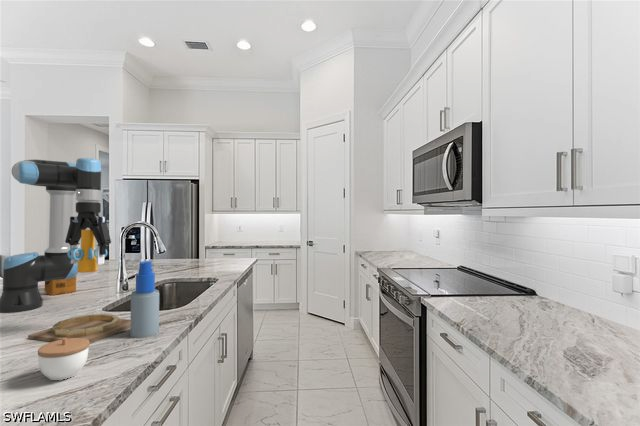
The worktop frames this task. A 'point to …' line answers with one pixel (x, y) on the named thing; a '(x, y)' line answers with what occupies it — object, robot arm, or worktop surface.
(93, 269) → the cylinder
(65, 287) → the coffee package
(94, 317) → the tan flat ring
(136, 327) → the spray bottle
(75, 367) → the lidded jar
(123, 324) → the seat plate
